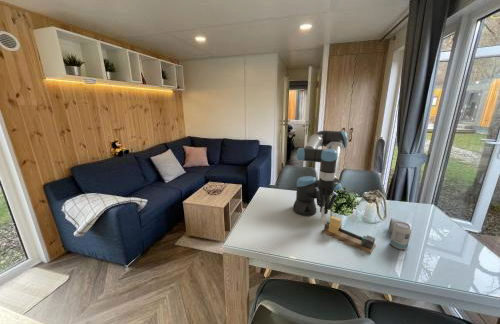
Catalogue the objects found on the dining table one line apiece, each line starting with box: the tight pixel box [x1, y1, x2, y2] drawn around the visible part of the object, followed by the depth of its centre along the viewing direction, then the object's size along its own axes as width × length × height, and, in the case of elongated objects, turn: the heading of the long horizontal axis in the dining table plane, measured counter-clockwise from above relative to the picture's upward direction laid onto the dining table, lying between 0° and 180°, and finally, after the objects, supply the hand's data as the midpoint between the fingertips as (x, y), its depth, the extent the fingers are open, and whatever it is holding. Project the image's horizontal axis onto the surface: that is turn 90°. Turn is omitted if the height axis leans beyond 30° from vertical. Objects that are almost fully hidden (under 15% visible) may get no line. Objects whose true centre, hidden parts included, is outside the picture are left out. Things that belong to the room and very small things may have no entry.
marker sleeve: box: [328, 215, 343, 235], centre depth 110 cm, size 5×4×8 cm
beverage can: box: [390, 221, 412, 250], centre depth 99 cm, size 7×7×12 cm
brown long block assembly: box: [321, 221, 377, 255], centre depth 105 cm, size 24×8×6 cm, turn 45°
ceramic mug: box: [388, 217, 410, 234], centre depth 111 cm, size 11×8×8 cm
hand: (323, 217), depth 114 cm, fingers closed
